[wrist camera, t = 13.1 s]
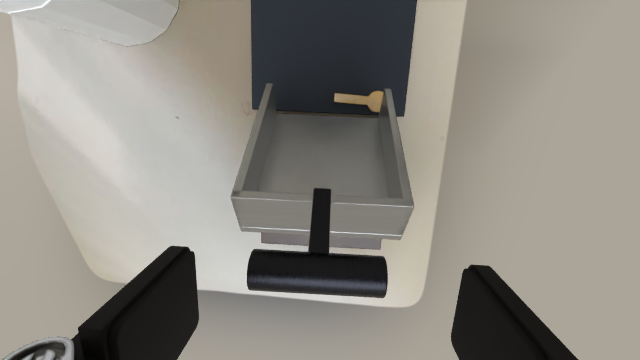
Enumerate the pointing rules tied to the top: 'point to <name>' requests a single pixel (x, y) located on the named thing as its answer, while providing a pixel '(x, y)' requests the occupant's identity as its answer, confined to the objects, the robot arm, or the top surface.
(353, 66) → the mat
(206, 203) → the top surface
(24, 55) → the top surface
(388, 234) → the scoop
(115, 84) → the top surface
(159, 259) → the robot arm
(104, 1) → the container
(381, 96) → the spoon
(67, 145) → the top surface
